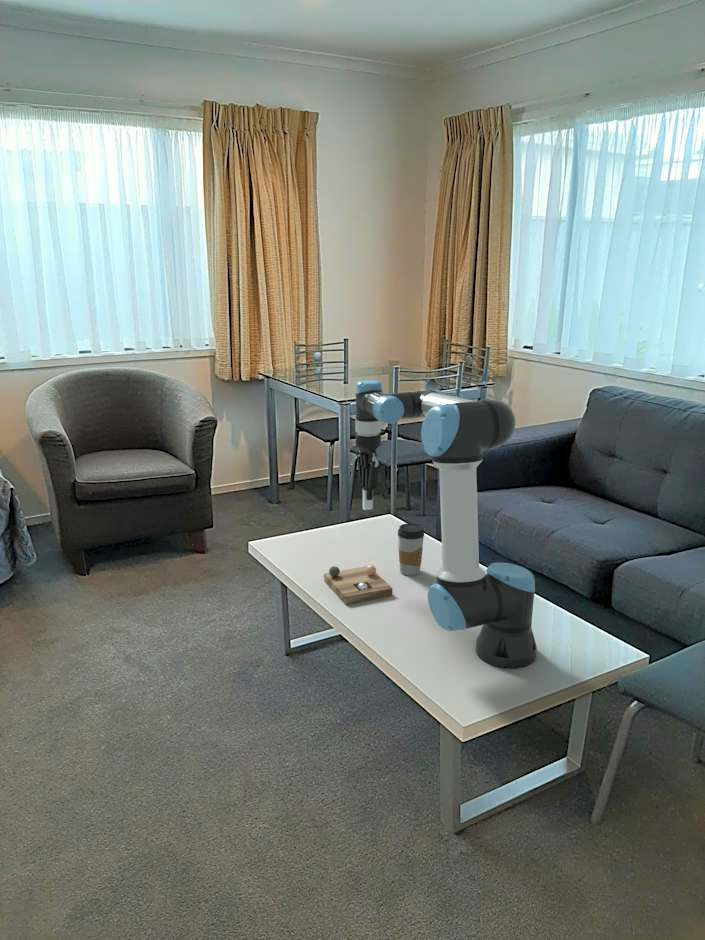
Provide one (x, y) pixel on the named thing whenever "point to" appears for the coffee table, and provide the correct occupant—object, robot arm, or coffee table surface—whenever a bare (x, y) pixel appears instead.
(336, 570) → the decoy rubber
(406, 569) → the coffee cup
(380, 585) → the wooden flat board
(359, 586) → the steel ball
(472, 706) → the coffee table surface
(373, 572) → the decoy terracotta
